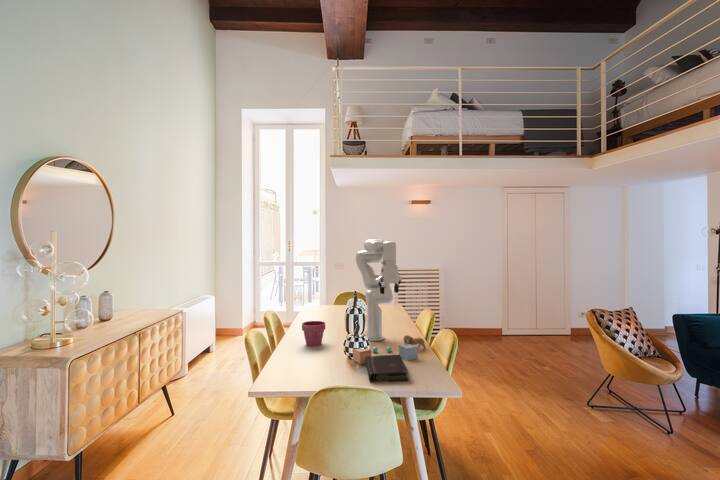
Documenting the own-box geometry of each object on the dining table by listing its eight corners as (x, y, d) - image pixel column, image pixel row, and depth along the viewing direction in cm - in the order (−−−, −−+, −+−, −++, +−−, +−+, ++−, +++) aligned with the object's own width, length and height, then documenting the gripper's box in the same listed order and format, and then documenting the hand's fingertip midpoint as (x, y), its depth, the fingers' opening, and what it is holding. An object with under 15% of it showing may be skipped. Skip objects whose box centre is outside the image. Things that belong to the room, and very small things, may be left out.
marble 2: (386, 346, 218) (384, 350, 219) (390, 349, 216) (389, 353, 217) (389, 344, 220) (388, 349, 221) (393, 347, 218) (392, 351, 219)
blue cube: (399, 356, 209) (398, 345, 209) (409, 354, 213) (409, 343, 213) (407, 360, 203) (407, 349, 203) (417, 358, 207) (417, 347, 207)
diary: (369, 384, 173) (369, 372, 173) (365, 365, 198) (365, 355, 198) (410, 382, 174) (410, 371, 174) (401, 364, 199) (401, 354, 199)
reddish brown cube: (359, 364, 198) (359, 352, 198) (353, 360, 204) (352, 348, 204) (371, 361, 201) (371, 350, 201) (364, 358, 207) (364, 346, 207)
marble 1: (372, 351, 215) (371, 352, 218) (378, 352, 216) (376, 353, 218) (373, 346, 216) (372, 346, 219) (378, 347, 217) (377, 347, 220)
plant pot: (310, 339, 245) (310, 319, 245) (329, 342, 239) (329, 321, 238) (297, 345, 232) (297, 324, 232) (317, 348, 226) (317, 326, 226)
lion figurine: (406, 352, 217) (406, 336, 217) (401, 350, 222) (401, 334, 222) (428, 349, 223) (428, 333, 223) (423, 347, 228) (423, 331, 228)
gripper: (380, 264, 214) (380, 295, 215) (405, 263, 223) (405, 292, 223) (373, 263, 221) (373, 293, 221) (398, 262, 229) (397, 291, 230)
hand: (389, 293), depth 222 cm, fingers open, 9 cm apart
